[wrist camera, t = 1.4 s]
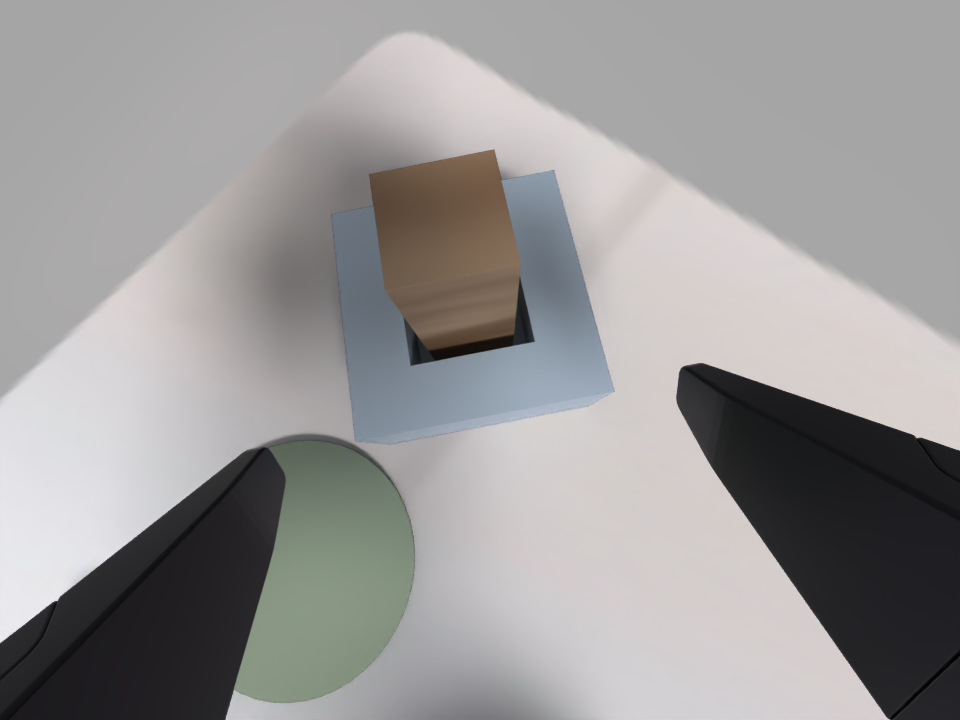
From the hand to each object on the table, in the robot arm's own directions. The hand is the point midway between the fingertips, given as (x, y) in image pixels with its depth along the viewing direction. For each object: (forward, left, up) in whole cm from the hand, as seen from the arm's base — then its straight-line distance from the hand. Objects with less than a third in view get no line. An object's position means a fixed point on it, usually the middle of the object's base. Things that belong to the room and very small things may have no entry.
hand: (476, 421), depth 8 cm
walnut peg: (+6, +2, -11) cm, 13 cm away
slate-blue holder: (+6, +2, -13) cm, 14 cm away
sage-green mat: (-8, +9, -13) cm, 17 cm away
